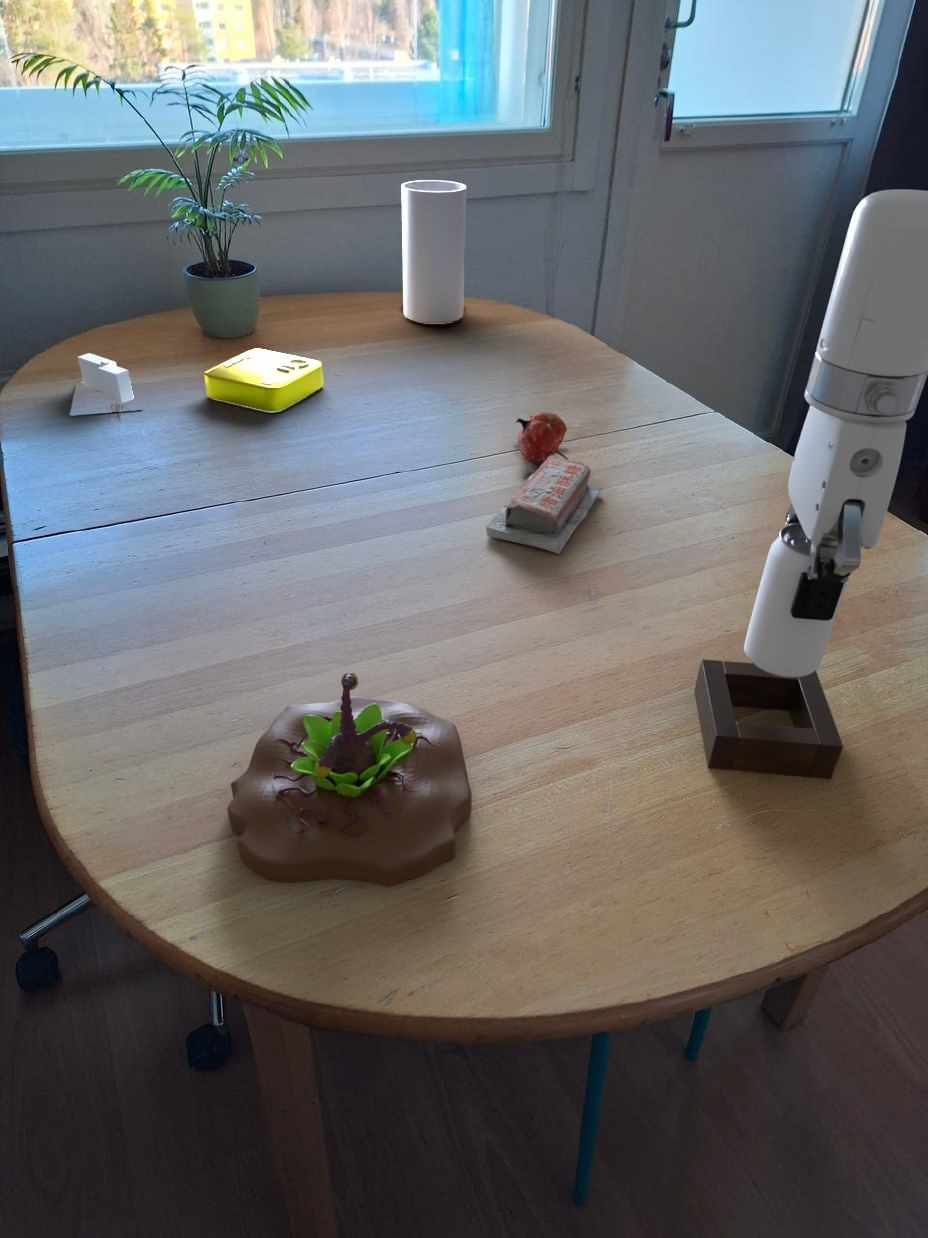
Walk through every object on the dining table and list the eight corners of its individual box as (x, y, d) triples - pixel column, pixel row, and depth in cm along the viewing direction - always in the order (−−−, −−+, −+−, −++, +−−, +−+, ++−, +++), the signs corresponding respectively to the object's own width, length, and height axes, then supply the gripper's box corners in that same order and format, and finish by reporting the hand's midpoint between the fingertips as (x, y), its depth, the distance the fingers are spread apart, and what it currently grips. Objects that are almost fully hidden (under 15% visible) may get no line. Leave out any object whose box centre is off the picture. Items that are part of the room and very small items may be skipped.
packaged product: (536, 448, 120) (605, 462, 117) (533, 480, 123) (601, 494, 120) (486, 503, 107) (563, 521, 104) (484, 538, 110) (559, 556, 107)
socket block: (805, 699, 86) (815, 668, 84) (831, 779, 77) (843, 746, 75) (693, 690, 87) (701, 658, 84) (707, 768, 78) (716, 735, 76)
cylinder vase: (433, 330, 176) (434, 194, 162) (391, 316, 183) (388, 184, 169) (475, 317, 184) (479, 186, 169) (433, 304, 191) (433, 177, 176)
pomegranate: (555, 461, 133) (505, 420, 130) (588, 431, 129) (537, 388, 126) (549, 488, 128) (497, 446, 125) (583, 457, 123) (530, 413, 120)
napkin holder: (73, 383, 148) (65, 349, 145) (143, 377, 151) (137, 344, 148) (68, 417, 137) (59, 381, 134) (144, 410, 140) (137, 375, 136)
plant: (474, 719, 82) (479, 623, 76) (467, 892, 67) (472, 790, 60) (264, 709, 83) (250, 613, 76) (207, 880, 67) (183, 777, 60)
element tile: (257, 370, 155) (254, 343, 153) (328, 386, 150) (326, 358, 147) (201, 398, 144) (197, 370, 142) (276, 416, 139) (273, 387, 136)
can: (730, 638, 79) (760, 522, 72) (796, 632, 80) (832, 517, 73) (762, 684, 74) (798, 563, 67) (833, 677, 75) (875, 557, 68)
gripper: (962, 437, 55) (876, 660, 65) (883, 347, 69) (822, 542, 79) (840, 429, 55) (774, 651, 66) (786, 341, 69) (739, 536, 80)
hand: (801, 590), depth 73 cm, fingers closed on can, 6 cm apart
